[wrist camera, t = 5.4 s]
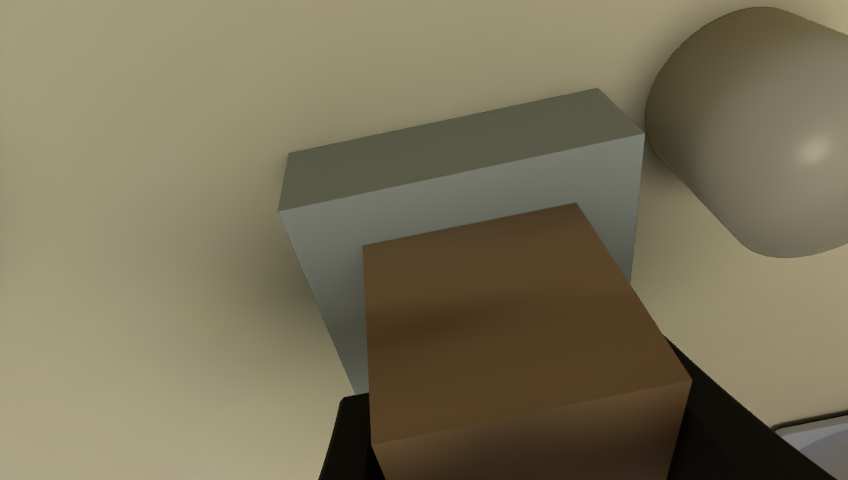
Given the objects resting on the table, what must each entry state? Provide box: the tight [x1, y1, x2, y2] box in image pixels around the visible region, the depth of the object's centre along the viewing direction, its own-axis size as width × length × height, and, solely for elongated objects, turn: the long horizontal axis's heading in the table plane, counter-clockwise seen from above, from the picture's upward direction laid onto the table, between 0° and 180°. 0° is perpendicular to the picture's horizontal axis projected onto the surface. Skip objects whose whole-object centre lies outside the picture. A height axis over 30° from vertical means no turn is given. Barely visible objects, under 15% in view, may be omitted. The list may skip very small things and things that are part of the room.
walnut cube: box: [363, 203, 692, 480], centre depth 11 cm, size 5×5×5 cm
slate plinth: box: [278, 88, 645, 395], centre depth 15 cm, size 8×8×3 cm
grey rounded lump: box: [645, 7, 848, 258], centre depth 12 cm, size 4×4×4 cm
